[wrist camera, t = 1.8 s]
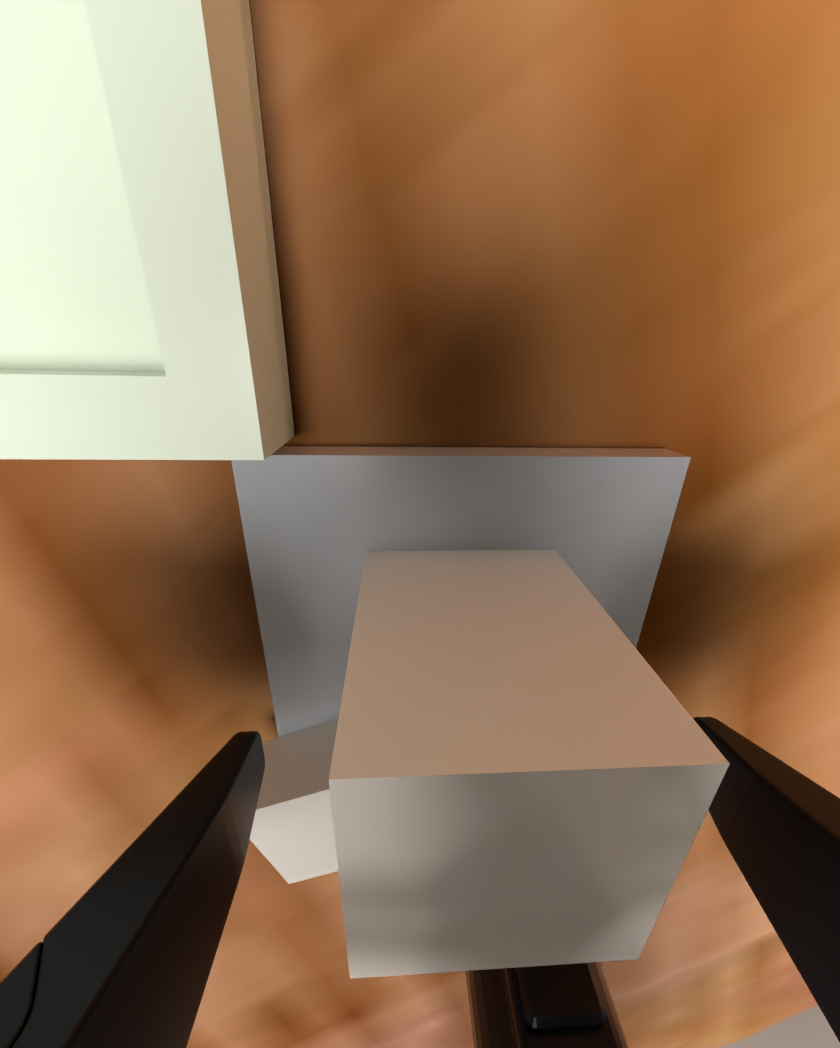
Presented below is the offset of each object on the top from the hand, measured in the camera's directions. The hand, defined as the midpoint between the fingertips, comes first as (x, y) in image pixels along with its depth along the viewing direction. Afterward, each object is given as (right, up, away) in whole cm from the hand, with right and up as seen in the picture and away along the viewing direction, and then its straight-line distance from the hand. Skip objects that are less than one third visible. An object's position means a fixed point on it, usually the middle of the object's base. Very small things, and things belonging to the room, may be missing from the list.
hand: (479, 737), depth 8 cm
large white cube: (0, +1, +3) cm, 3 cm away
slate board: (0, +1, +4) cm, 4 cm away
